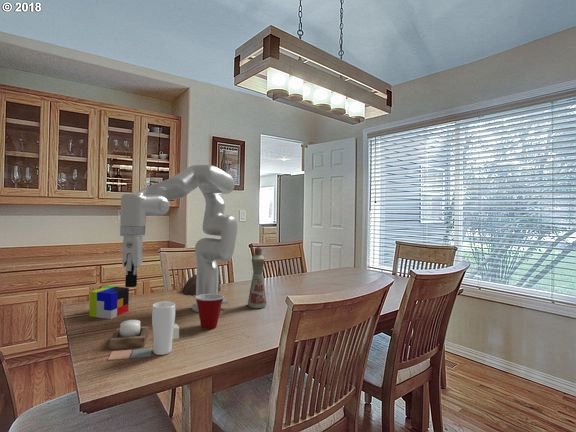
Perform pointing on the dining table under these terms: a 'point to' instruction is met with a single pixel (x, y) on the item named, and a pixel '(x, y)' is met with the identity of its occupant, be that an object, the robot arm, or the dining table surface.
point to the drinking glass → (163, 326)
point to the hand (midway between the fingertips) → (131, 286)
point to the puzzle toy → (108, 302)
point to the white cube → (176, 332)
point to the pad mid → (141, 353)
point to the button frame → (129, 339)
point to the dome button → (130, 328)
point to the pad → (120, 355)
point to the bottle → (257, 282)
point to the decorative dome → (193, 286)
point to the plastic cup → (209, 309)
